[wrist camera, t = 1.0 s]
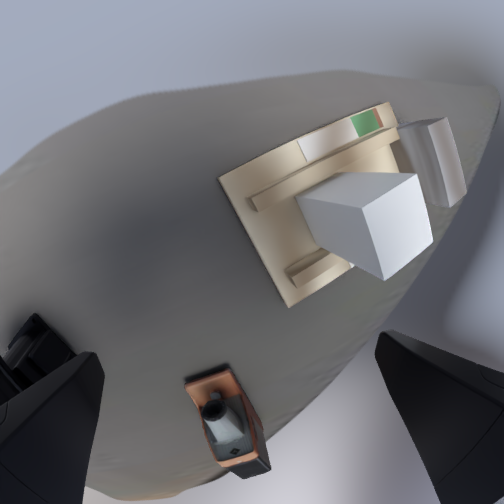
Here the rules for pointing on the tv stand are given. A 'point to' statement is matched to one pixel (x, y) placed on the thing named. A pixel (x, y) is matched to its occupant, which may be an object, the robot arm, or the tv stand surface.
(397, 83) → the tv stand surface
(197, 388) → the electronic device
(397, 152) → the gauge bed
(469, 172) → the tv stand surface
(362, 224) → the white rectangular block
